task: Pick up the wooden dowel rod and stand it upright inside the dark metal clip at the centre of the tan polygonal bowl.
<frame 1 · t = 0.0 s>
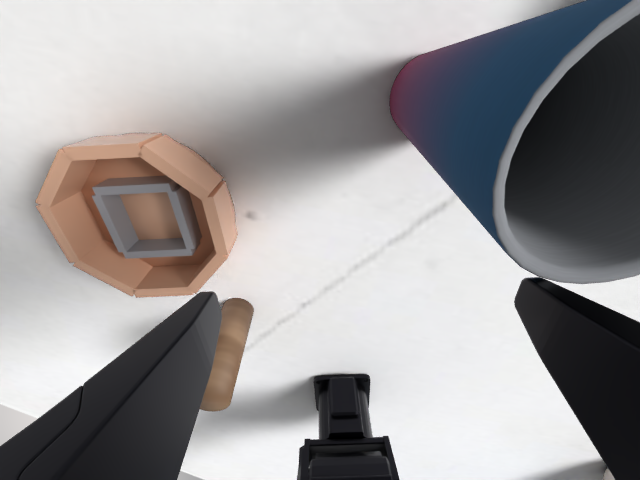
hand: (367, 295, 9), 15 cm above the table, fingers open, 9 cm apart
tan polygonal bowl: (160, 209, 23), on the table
vase: (624, 463, 47), on the table
cup: (426, 96, 19), on the table, touching gripper
wooden dowel rod: (238, 309, 29), on the table
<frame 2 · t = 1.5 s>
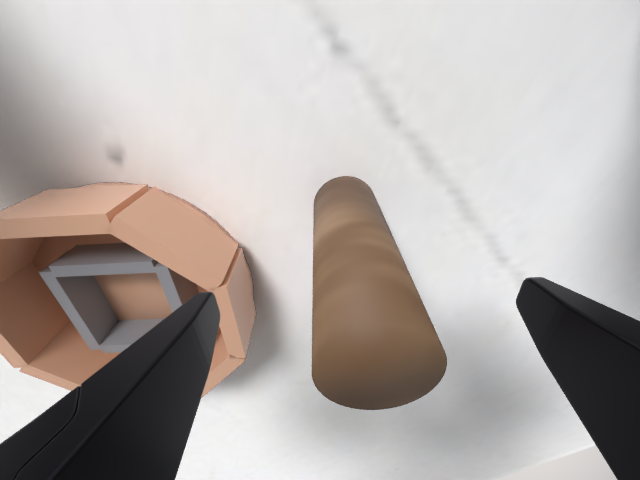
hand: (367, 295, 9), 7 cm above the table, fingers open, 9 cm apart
tan polygonal bowl: (149, 281, 16), on the table
wooden dowel rod: (344, 206, 14), on the table
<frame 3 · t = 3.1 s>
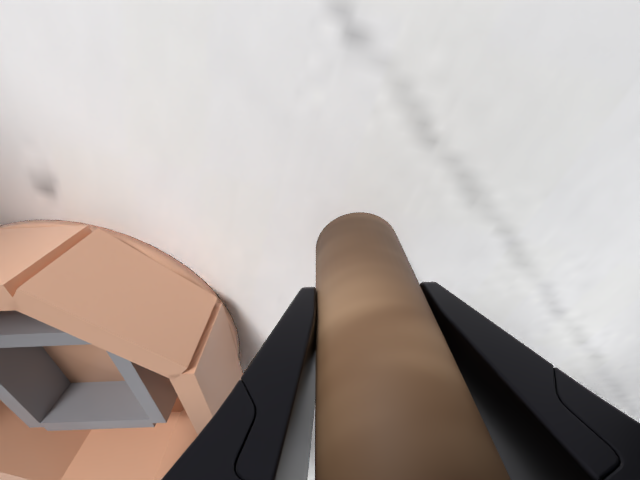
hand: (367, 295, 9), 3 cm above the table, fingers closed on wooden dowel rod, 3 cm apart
tan polygonal bowl: (106, 336, 13), on the table
wooden dowel rod: (356, 249, 11), on the table, touching gripper
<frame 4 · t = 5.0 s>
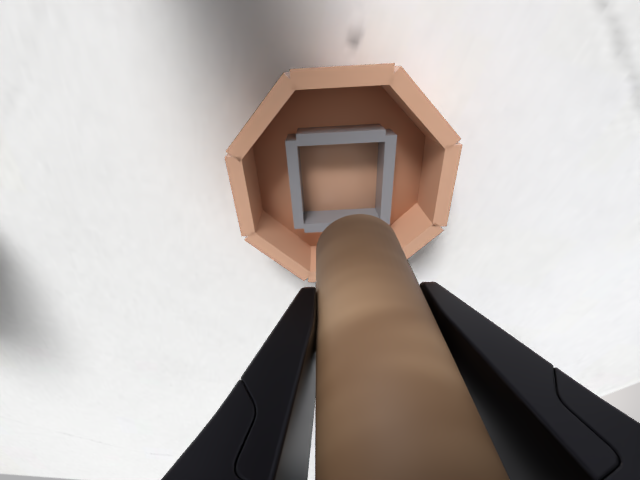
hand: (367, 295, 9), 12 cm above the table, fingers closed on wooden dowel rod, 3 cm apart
tan polygonal bowl: (338, 172, 19), on the table
wooden dowel rod: (356, 250, 11), point 9 cm above the table, touching gripper
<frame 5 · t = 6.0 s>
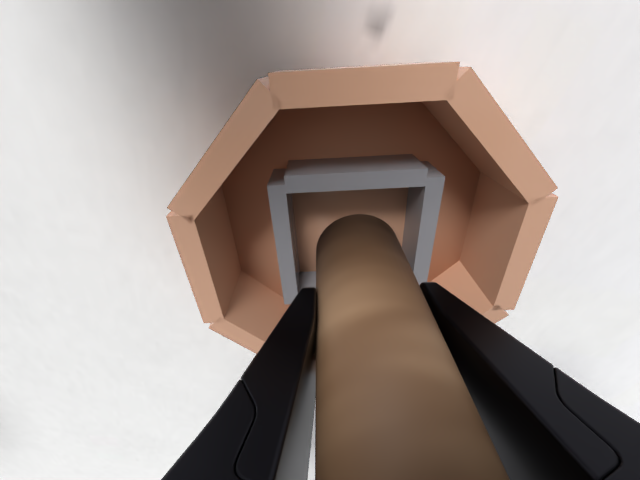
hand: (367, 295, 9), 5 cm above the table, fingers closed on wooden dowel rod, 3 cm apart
tan polygonal bowl: (348, 219, 13), on the table
wooden dowel rod: (356, 251, 11), point 3 cm above the table, touching gripper
when the fingers open (4 cm above the table, at t = 6.9 s): wooden dowel rod stays where it is, resting on tan polygonal bowl.
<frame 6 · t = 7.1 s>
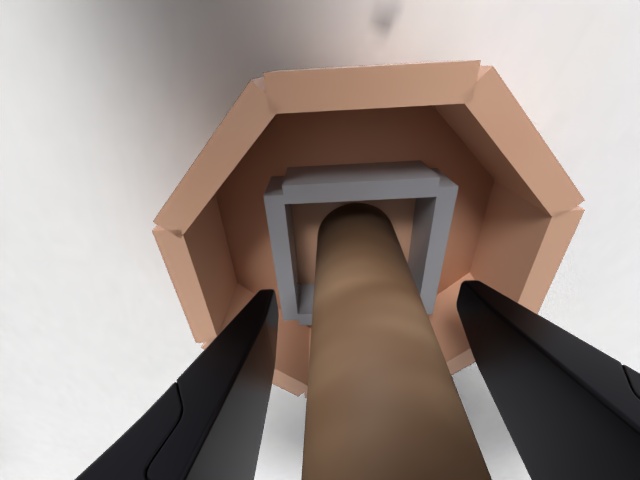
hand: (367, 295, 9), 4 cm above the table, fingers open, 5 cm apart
tan polygonal bowl: (351, 229, 12), on the table
wooden dowel rod: (355, 237, 12), point 1 cm above the table, touching tan polygonal bowl
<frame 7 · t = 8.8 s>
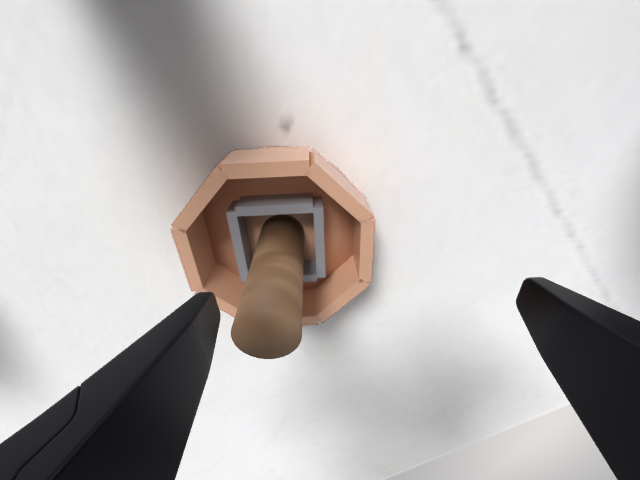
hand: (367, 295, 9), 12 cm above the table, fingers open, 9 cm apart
tan polygonal bowl: (282, 229, 21), on the table
wooden dowel rod: (282, 234, 20), point 1 cm above the table, touching tan polygonal bowl
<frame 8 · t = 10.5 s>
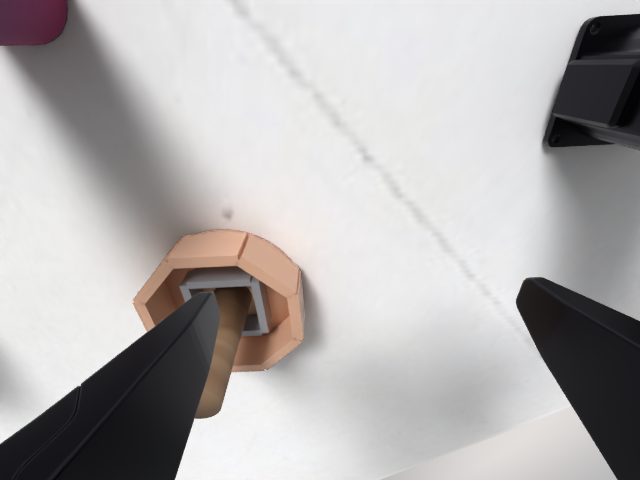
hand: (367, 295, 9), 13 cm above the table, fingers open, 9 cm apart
tan polygonal bowl: (234, 290, 25), on the table
wooden dowel rod: (233, 295, 24), point 1 cm above the table, touching tan polygonal bowl
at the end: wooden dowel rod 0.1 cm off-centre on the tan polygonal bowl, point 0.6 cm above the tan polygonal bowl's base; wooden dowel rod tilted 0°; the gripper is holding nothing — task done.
